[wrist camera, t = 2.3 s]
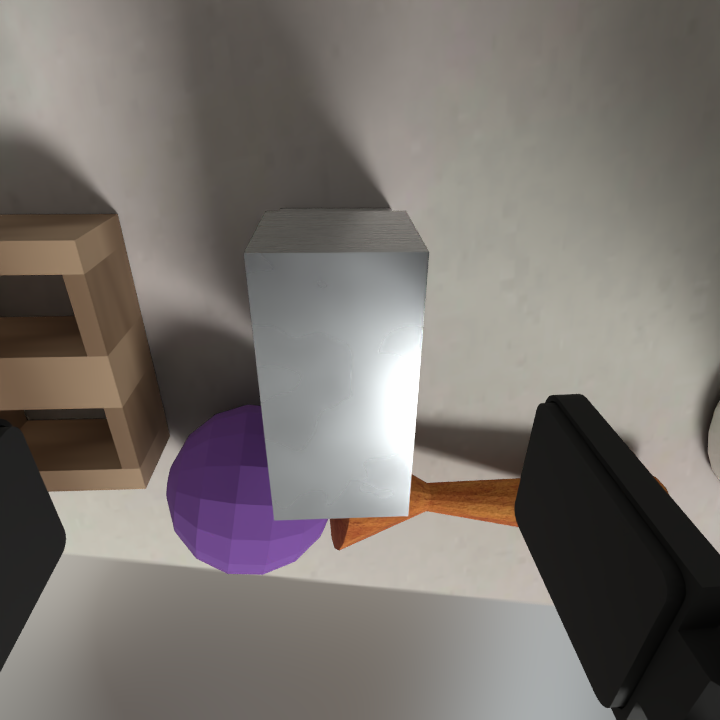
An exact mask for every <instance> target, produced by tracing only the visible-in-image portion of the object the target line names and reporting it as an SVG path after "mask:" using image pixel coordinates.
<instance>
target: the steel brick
mask: <svg viewBox="0 0 720 720" xmlns="http://www.w3.org/2000/svg"><path fill="white" fill-rule="evenodd" d="M428 260H429V251H428V249H427V247H426V245H425V244H424V242H423V240H422V238H421V237H420V235H419V233H418V231H417V230H416V228H415V226H414V224H413V222H412V221H411V219H410V217H409V215H408V214H407V212H406V211H392V209H391V208H280V211H265V213H264V215H263V217H262V219H261V221H260V223H259V225H258V227H257V229H256V231H255V233H254V234H253V236H252V238H251V240H250V242H249V244H248V246H247V248H246V250H245V252H244V261H245V269H246V278H247V287H248V296H249V304H250V313H251V322H252V331H253V339H254V348H255V357H256V366H257V374H258V383H259V392H260V401H261V409H262V418H263V427H264V436H265V444H266V453H267V462H268V471H269V479H270V488H271V497H272V506H273V515H274V520H305V519H336V518H367V517H397V516H408V513H409V501H410V488H411V475H412V463H413V450H414V437H415V425H416V412H417V399H418V387H419V374H420V361H421V349H422V336H423V323H424V311H425V298H426V285H427V273H428Z"/></svg>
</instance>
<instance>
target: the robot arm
mask: <svg viewBox="0 0 720 720" xmlns="http://www.w3.org/2000/svg"><path fill="white" fill-rule="evenodd" d="M708 455H709V459H710V463H711V467H712V470H713V472H714V473H715V475H716V476H717V478H718V479H719V481H720V401H719V403H718V405H717V407H716V409H715V411H714V415H713V418H712V422H711V425H710V429H709V433H708ZM514 512H515V518H516V522H517V524H518V527H519V529H520V531H521V533H522V535H523V538H524V540H525V542H526V544H527V546H528V548H529V551H530V553H531V555H532V557H533V559H534V562H535V564H536V566H537V568H538V570H539V573H540V575H541V577H542V579H543V581H544V583H545V586H546V588H547V590H548V592H549V594H550V597H551V599H552V601H553V603H554V605H555V607H556V609H557V612H558V614H559V616H560V618H561V621H562V623H563V625H564V627H565V629H566V631H567V633H568V636H569V638H570V640H571V642H572V645H573V647H574V649H575V651H576V653H577V656H578V658H579V660H580V662H581V664H582V666H583V669H584V671H585V673H586V675H587V677H588V680H589V682H590V684H591V686H592V688H593V691H594V693H595V695H596V697H597V698H598V700H599V701H600V703H601V704H602V705H603V706H604V707H606V708H611V709H612V711H613V713H614V715H615V717H616V720H720V554H719V553H718V552H717V551H716V550H715V548H714V547H713V546H712V545H711V544H710V543H709V541H708V540H707V539H706V538H705V537H704V535H703V534H702V533H701V532H700V531H699V530H698V528H697V527H696V526H695V525H694V524H693V523H692V521H691V520H690V519H689V518H688V517H687V515H686V514H685V513H684V512H683V511H682V510H681V508H680V507H679V506H678V505H677V504H676V503H675V501H674V500H673V499H672V498H671V497H670V496H669V494H668V493H667V492H666V491H665V490H664V488H663V487H662V486H661V485H660V484H659V483H658V481H657V480H656V479H655V478H654V477H653V476H652V474H651V473H650V472H649V471H648V470H647V469H646V467H645V466H644V465H643V464H642V463H641V461H640V460H639V459H638V458H637V457H636V456H635V454H634V453H633V452H632V451H631V450H630V449H629V447H628V446H627V445H626V444H625V443H624V442H623V440H622V439H621V438H620V437H619V436H618V434H617V433H616V432H615V431H614V430H613V429H612V427H611V426H610V425H609V424H608V423H607V422H606V420H605V419H604V418H603V417H602V416H601V414H600V413H599V412H598V411H597V410H596V409H595V407H594V406H593V405H592V404H591V403H590V402H589V400H588V399H587V398H586V397H585V396H583V395H581V394H568V395H551V396H549V397H548V398H547V400H546V402H545V403H541V404H539V406H538V407H537V410H536V414H535V419H534V423H533V427H532V432H531V436H530V440H529V444H528V449H527V453H526V457H525V461H524V466H523V470H522V474H521V479H520V483H519V487H518V491H517V496H516V500H515V505H514ZM65 543H66V534H65V530H64V528H63V525H62V523H61V521H60V519H59V516H58V514H57V512H56V509H55V507H54V505H53V502H52V500H51V498H50V495H49V493H48V491H47V488H46V486H45V484H44V481H43V479H42V477H41V475H40V472H39V470H38V468H37V465H36V463H35V461H34V458H33V456H32V454H31V451H30V449H29V447H28V444H27V442H26V440H25V438H24V435H23V433H22V431H21V430H20V429H19V428H18V427H13V426H12V425H11V423H10V422H8V421H7V420H5V419H0V671H1V670H2V668H3V665H4V664H5V662H6V660H7V658H8V656H9V654H10V652H11V650H12V649H13V647H14V645H15V643H16V641H17V639H18V637H19V635H20V633H21V631H22V629H23V628H24V626H25V624H26V622H27V620H28V618H29V616H30V614H31V612H32V610H33V608H34V607H35V605H36V603H37V601H38V599H39V597H40V595H41V593H42V591H43V589H44V587H45V586H46V584H47V581H48V580H49V578H50V576H51V574H52V572H53V570H54V568H55V567H56V564H57V563H58V561H59V559H60V557H61V555H62V553H63V551H64V548H65Z"/></svg>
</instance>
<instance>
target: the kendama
mask: <svg viewBox="0 0 720 720" xmlns="http://www.w3.org/2000/svg"><path fill="white" fill-rule="evenodd" d="M653 477H654V476H653ZM654 478H655V479H656V480H657V481H658V483H659V484H660V485H661V486H662V487H663V488H664V490H665V491H666V492H667V493H668V491H667V489H666V488H665V486H664V485H663V484H662V483H661V482H660V481H659V480H658V479H657V478H656V477H654ZM520 479H521V478H516V479H497V480H477V481H457V482H437V483H426V482H424V481H423V480H421V479H419V478H417V477H416V476H414V475H411V488H410V501H409V513H408V516H397V517H367V518H336V519H330V526H331V536H332V540H333V544H334V548H336V549H337V550H341V549H343V548H345V547H348V546H350V545H352V544H354V543H356V542H359V541H361V540H363V539H365V538H368V537H370V536H372V535H374V534H376V533H379V532H381V531H383V530H385V529H387V528H390V527H392V526H394V525H396V524H398V523H401V522H403V521H405V520H407V519H410V518H412V517H414V516H416V515H418V514H421V513H423V512H425V511H429V512H435V513H441V514H447V515H452V516H458V517H464V518H470V519H475V520H481V521H487V522H493V523H498V524H504V525H510V526H516V527H518V524H517V522H516V518H515V512H514V505H515V500H516V496H517V491H518V487H519V483H520ZM166 496H167V501H168V505H169V509H170V514H171V518H172V522H173V526H174V530H175V532H176V534H177V535H178V536H179V537H180V539H181V540H182V541H183V542H184V544H185V545H186V546H187V547H188V549H189V550H190V551H191V552H192V554H193V555H194V556H195V557H196V559H199V560H201V561H203V562H205V563H207V564H209V565H211V566H213V567H215V568H217V569H219V570H221V571H223V572H225V573H227V574H265V573H268V572H270V571H273V570H275V569H277V568H280V567H282V566H285V565H287V564H290V563H292V562H295V561H296V560H297V559H298V558H299V557H300V556H301V555H302V554H303V553H304V552H305V551H306V550H307V549H308V548H309V547H310V546H311V545H312V544H313V543H314V542H315V541H316V540H317V539H318V538H319V537H320V536H321V534H322V532H323V530H324V528H325V525H326V523H327V520H328V519H305V520H274V515H273V506H272V497H271V488H270V479H269V471H268V462H267V453H266V444H265V436H264V427H263V418H262V409H261V406H257V405H245V406H242V407H238V408H235V409H231V410H228V411H225V412H221V413H218V414H216V415H214V416H213V417H212V418H210V419H209V420H208V421H207V422H205V423H204V424H203V425H201V426H200V427H199V428H198V429H196V430H195V431H194V432H193V433H191V434H190V435H189V436H188V438H187V440H186V442H185V443H184V445H183V447H182V448H181V450H180V452H179V454H178V455H177V457H176V459H175V461H174V462H173V464H172V466H171V468H170V472H169V477H168V482H167V492H166Z"/></svg>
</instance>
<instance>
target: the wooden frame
mask: <svg viewBox="0 0 720 720" xmlns="http://www.w3.org/2000/svg"><path fill="white" fill-rule="evenodd" d="M0 275H62V276H63V279H64V283H65V286H66V289H67V292H68V295H69V299H70V302H71V305H72V308H73V312H74V315H75V316H44V317H0V419H5V420H7V421H8V422H10V423H11V425H12V426H13V427H18V428H19V429H20V430H21V431H22V433H23V435H24V438H25V440H26V442H27V444H28V447H29V449H30V451H31V454H32V456H33V458H34V461H35V463H36V465H37V468H38V470H39V472H40V475H41V477H42V479H43V481H44V484H45V486H46V488H47V491H48V492H50V491H84V490H118V489H146V487H147V485H148V483H149V480H150V478H151V476H152V474H153V472H154V470H155V467H156V465H157V463H158V461H159V459H160V457H161V454H162V452H163V450H164V448H165V446H166V443H167V441H168V439H169V437H170V434H169V430H168V426H167V421H166V417H165V413H164V409H163V404H162V400H161V396H160V392H159V387H158V383H157V379H156V375H155V370H154V366H153V362H152V358H151V354H150V349H149V345H148V341H147V337H146V332H145V328H144V324H143V320H142V315H141V311H140V307H139V303H138V298H137V294H136V290H135V286H134V281H133V277H132V273H131V269H130V264H129V260H128V256H127V252H126V248H125V243H124V239H123V235H122V231H121V226H120V222H119V218H118V214H8V215H0ZM82 408H104V411H105V415H106V418H107V419H70V420H27V418H26V416H25V413H24V411H23V410H36V409H82Z"/></svg>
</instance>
